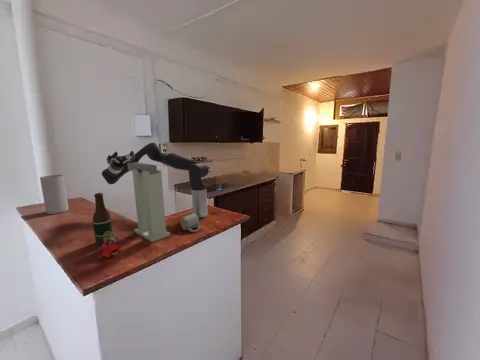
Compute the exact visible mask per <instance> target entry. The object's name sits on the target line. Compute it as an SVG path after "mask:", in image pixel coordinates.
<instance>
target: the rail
mask: <svg viewBox="0 0 480 360" xmlns="http://www.w3.org/2000/svg"><path fill="white" fill-rule="evenodd" d="M127 165H128V170H129V172H132V169H137V170H139V173H142V171H149V175H150V174H157V170H158V168H157V167H158V166H157V165H156V164H151V163H144V162H138V163H137V162H132V163H127Z"/></svg>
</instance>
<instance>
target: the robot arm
mask: <svg viewBox="0 0 480 360" xmlns="http://www.w3.org/2000/svg"><path fill="white" fill-rule="evenodd" d="M144 156H147V158H148V159H149V160H150V161H153V162H157V163H161V164H164V165H166V166H169V167H171V168H173V169H175V170H180V171H188V180H189V185H190V187H191V188H190V189H191V200H192V201H191V202H192V203H191V205H192V214H193V213H195V214H196V215H197V216H198V218H206V217H207V216H208V214H209V213H208V195H207V190H208V189H207V184H206V183H205V182H202V181H203V180H202V178H205V177H207V176H208V174H209V173H210V172H209V171H210V170H209V166H207V165H206V164H205V163H204V162H201V161H197V160H193V159H190V158H187V157H185V156H182V155H180V154H177V153H174V152H170V153H168V154H165V153H163V152H162V151H161V149H160V147H159V146H158V144H157V143H156V142H150V143H148V144H146V145H144V146H142V148H140V149H139V150H138V151H137V152H134V150H130V152H129V153H128V154H125V155H121V156H120V155H119V154H118V151H114V152H113V153H112V154H111V155H110V154H109V155H107V158H106V162H107V165H108V167H107V168H105V169H103V170H102V171H101V176H102V177H103V179H104V180H105V181H106V183H107V184H108V185H115V184H116V183H117V182H118V181H119V180H120V179H121V178H122V177H123V176H124V175H125V174H128V173H129V172H130V171H129V170H128V165H127V163H132V162H137V163H140V160H141V159H142V158H143V157H144Z"/></svg>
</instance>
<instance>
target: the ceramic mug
mask: <svg viewBox="0 0 480 360" xmlns="http://www.w3.org/2000/svg"><path fill="white" fill-rule="evenodd" d="M179 223H180V227H181V228H182V230H184V231H189V232H190V233H197V232H198V231H200V230H199V229H200V219H199V218H198V216H197V215H196V214H195V213H193V212H192V213H191V214H189V215H186V216H183V217H181V218H180V221H179ZM196 228H197V229H196Z"/></svg>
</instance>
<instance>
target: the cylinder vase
mask: <svg viewBox="0 0 480 360" xmlns="http://www.w3.org/2000/svg"><path fill="white" fill-rule="evenodd" d="M39 179H40V180H39V181H40V185H41V192H42V196H43V198H42V199H43V202H44V209H45V213H46V214H47V215H57V214H63V213H64V212H65V213H66V212H68V211H69V209H70V208H69V202H68V194H67V188H66V183H65V177H64V175H63V174H53V175H51V174H50V175H44V176H40V177H39Z"/></svg>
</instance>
